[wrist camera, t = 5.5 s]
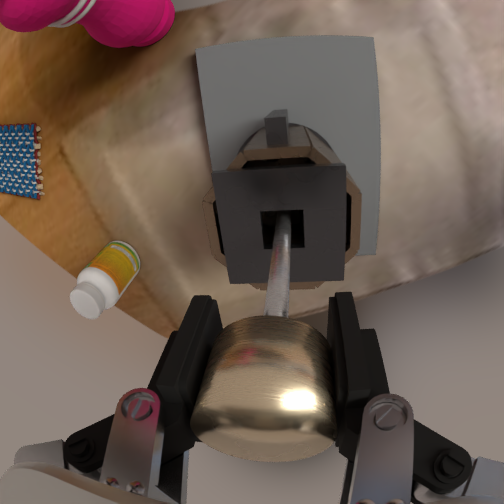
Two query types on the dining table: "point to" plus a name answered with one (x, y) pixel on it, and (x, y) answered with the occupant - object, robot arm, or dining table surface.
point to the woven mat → (20, 160)
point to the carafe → (284, 207)
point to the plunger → (269, 370)
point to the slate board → (299, 103)
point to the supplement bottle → (105, 279)
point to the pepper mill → (94, 18)
